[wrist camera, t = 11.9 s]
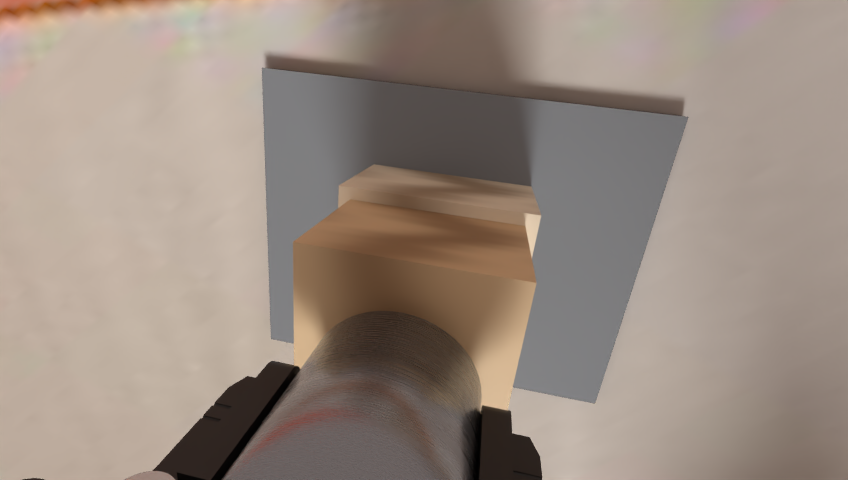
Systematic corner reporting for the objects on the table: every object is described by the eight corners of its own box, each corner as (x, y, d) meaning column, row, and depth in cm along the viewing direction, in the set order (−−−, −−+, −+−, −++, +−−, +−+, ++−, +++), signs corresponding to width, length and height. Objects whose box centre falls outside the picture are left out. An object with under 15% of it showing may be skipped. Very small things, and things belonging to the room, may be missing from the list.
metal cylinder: (495, 330, 11) (491, 592, 5) (467, 470, 12) (441, 778, 7) (312, 295, 11) (130, 496, 6) (311, 434, 13) (170, 691, 7)
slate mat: (682, 116, 19) (688, 117, 18) (592, 396, 24) (594, 403, 24) (268, 68, 21) (262, 67, 20) (275, 333, 27) (271, 339, 26)
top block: (525, 226, 16) (536, 282, 11) (494, 373, 18) (493, 470, 14) (350, 199, 17) (292, 241, 12) (344, 344, 19) (294, 425, 14)
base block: (531, 186, 20) (541, 215, 15) (502, 325, 23) (504, 385, 18) (373, 164, 21) (338, 185, 16) (365, 300, 24) (333, 351, 19)
